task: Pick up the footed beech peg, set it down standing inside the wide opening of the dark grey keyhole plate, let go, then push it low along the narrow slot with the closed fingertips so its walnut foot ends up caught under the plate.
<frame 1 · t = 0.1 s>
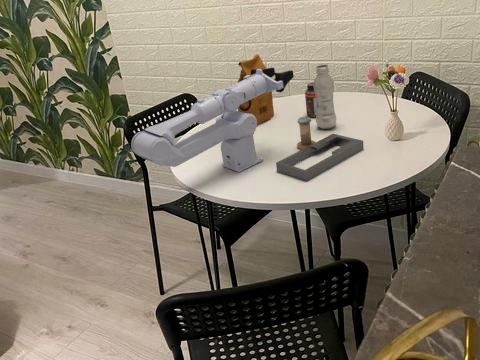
hand: (283, 72, 150), 22 cm above the table, tool horizontal, fingers open, 7 cm apart
supplement bottle: (315, 115, 176), on the table
peg: (306, 146, 153), on the table
coffee package: (257, 120, 181), on the table
plastic bottle: (326, 128, 165), on the table
keyhole plate: (323, 158, 143), on the table
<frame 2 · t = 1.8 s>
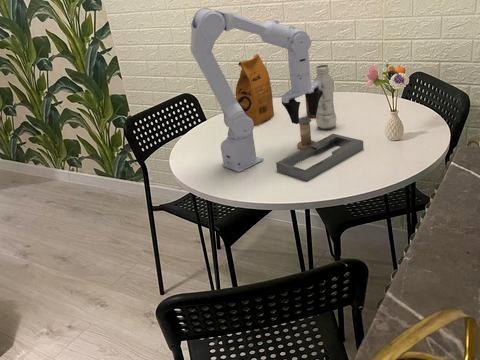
hand: (304, 119, 149), 9 cm above the table, tool pointing down, fingers open, 7 cm apart
nothing on the table moved.
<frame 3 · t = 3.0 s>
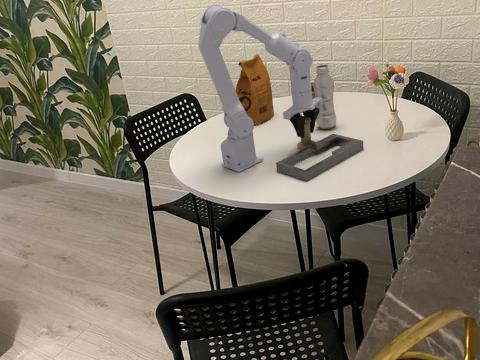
hand: (305, 134, 151), 4 cm above the table, tool pointing down, fingers closed on peg, 4 cm apart
peg: (306, 146, 153), on the table, touching gripper
everything else where it was.
when the fingers open (5 cm above the table, at t = 6.7 s): peg stays where it is, resting in keyhole plate.
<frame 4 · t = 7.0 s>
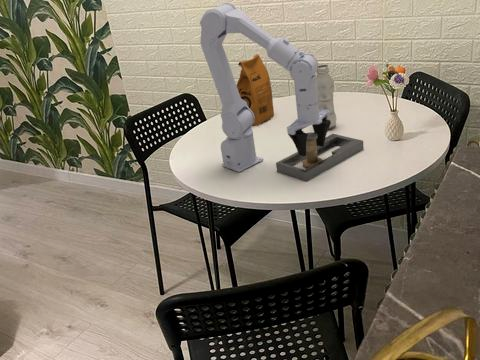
hand: (311, 150, 138), 5 cm above the table, tool pointing down, fingers open, 7 cm apart
peg: (312, 164, 141), resting in keyhole plate
everything else where it was.
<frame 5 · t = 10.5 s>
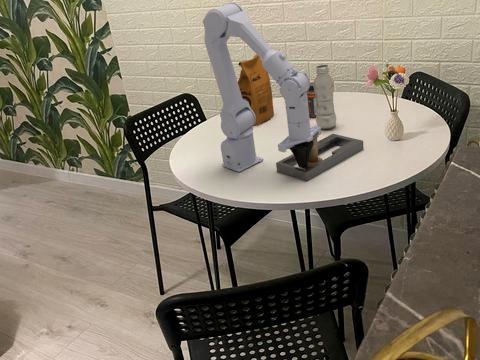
hand: (302, 166, 138), 1 cm above the table, tool pointing down, fingers closed
peg: (312, 163, 141), resting in keyhole plate, touching gripper
everything else where it was.
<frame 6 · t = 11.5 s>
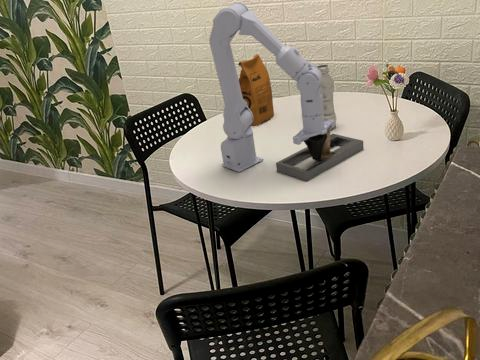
hand: (316, 159, 141), 1 cm above the table, tool pointing down, fingers closed
peg: (324, 156, 144), resting in keyhole plate, tilted 7°, touching gripper
everything else where it was.
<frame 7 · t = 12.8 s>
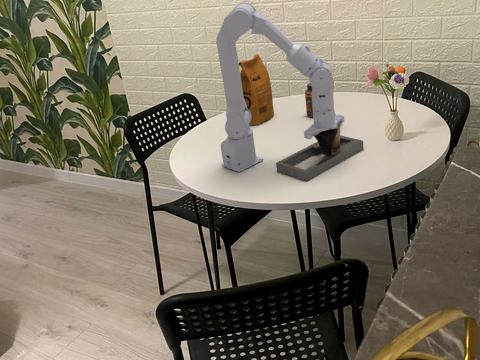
hand: (326, 154, 144), 1 cm above the table, tool pointing down, fingers closed
peg: (334, 151, 146), resting in keyhole plate, tilted 7°, touching gripper
everything else where it was.
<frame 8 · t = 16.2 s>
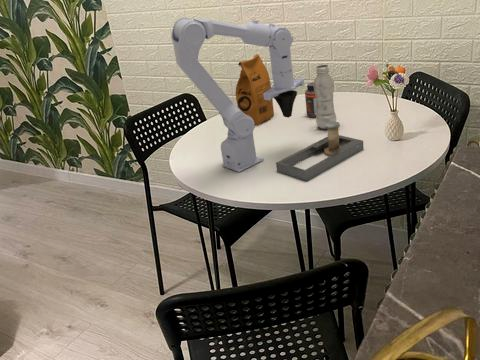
hand: (287, 116, 148), 10 cm above the table, tool pointing down, fingers closed
peg: (334, 152, 146), resting in keyhole plate
everything else where it was.
at the end: peg 0.4 cm from the target spot on the keyhole plate, point 0.0 cm above the keyhole plate's base; peg tilted 0°; the gripper is holding nothing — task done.
